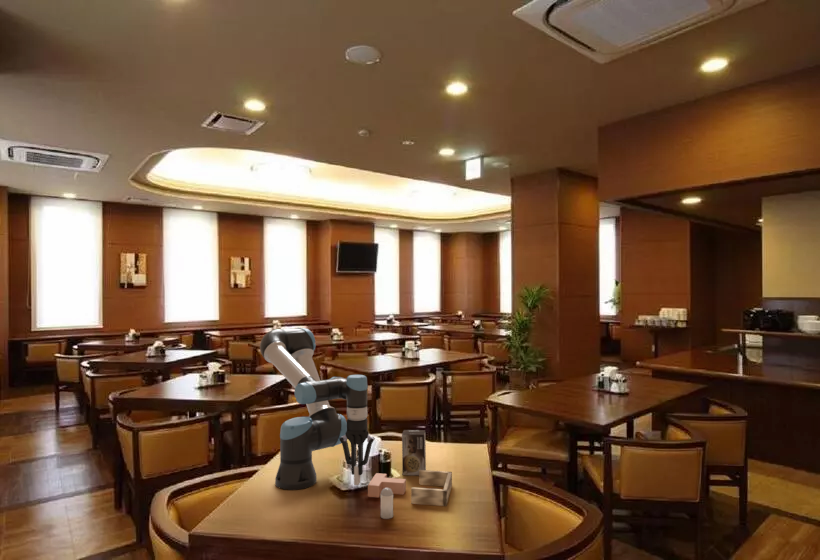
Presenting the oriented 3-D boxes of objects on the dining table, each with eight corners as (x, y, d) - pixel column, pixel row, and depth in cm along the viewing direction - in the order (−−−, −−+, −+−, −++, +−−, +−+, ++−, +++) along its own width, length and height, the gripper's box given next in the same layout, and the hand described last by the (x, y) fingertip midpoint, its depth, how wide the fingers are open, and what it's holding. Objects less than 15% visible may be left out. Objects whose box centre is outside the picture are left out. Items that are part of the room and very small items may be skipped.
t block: (367, 496, 176) (367, 485, 176) (376, 483, 187) (376, 473, 188) (401, 499, 174) (401, 487, 174) (407, 486, 185) (407, 475, 185)
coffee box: (426, 470, 202) (426, 429, 202) (425, 476, 195) (424, 434, 196) (403, 469, 203) (403, 429, 203) (401, 475, 196) (401, 433, 197)
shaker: (379, 518, 159) (379, 489, 159) (382, 512, 162) (382, 485, 163) (391, 519, 158) (391, 490, 158) (394, 513, 162) (394, 486, 162)
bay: (411, 503, 170) (411, 488, 170) (419, 483, 188) (419, 469, 188) (446, 506, 168) (446, 491, 168) (451, 485, 186) (451, 471, 186)
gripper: (336, 419, 181) (336, 486, 180) (371, 421, 178) (371, 488, 178) (343, 415, 188) (343, 478, 187) (376, 416, 186) (377, 480, 185)
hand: (357, 483), depth 183 cm, fingers closed
